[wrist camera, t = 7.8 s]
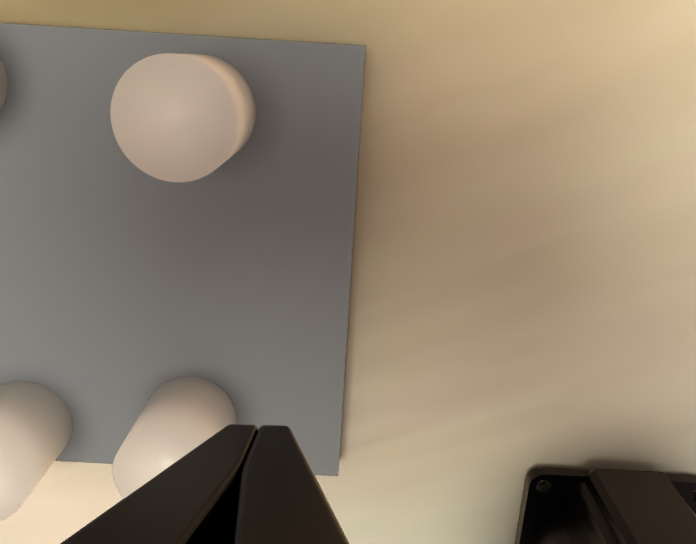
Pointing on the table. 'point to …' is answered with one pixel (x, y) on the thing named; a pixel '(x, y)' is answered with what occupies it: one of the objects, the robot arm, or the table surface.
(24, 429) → the spacers
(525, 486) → the robot arm
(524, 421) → the table surface
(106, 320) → the slate board
